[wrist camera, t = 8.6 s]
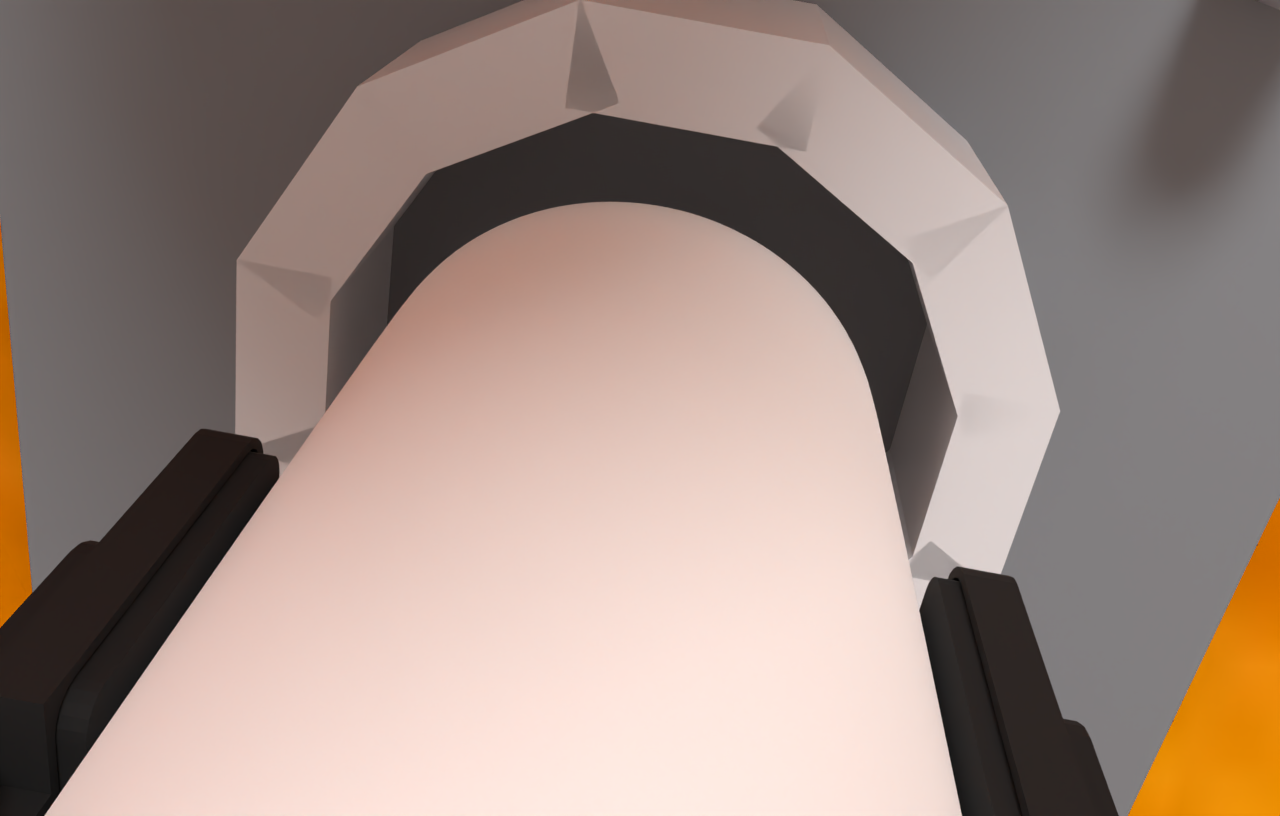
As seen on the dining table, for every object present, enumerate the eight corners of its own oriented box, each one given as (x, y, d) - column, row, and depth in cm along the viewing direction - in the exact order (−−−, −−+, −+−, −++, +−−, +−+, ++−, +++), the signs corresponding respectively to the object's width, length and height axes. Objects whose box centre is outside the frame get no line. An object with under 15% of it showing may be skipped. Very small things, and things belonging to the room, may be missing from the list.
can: (307, 506, 17) (-496, 1779, 6) (501, 88, 14) (-356, 1066, 3) (718, 700, 18) (668, 2100, 7) (977, 345, 15) (1579, 1776, 4)
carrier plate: (1069, 869, 24) (1124, 1058, 20) (70, 686, 24) (-51, 842, 20) (1601, -288, 15) (1875, -316, 11) (-21, -584, 15) (-272, -710, 11)
